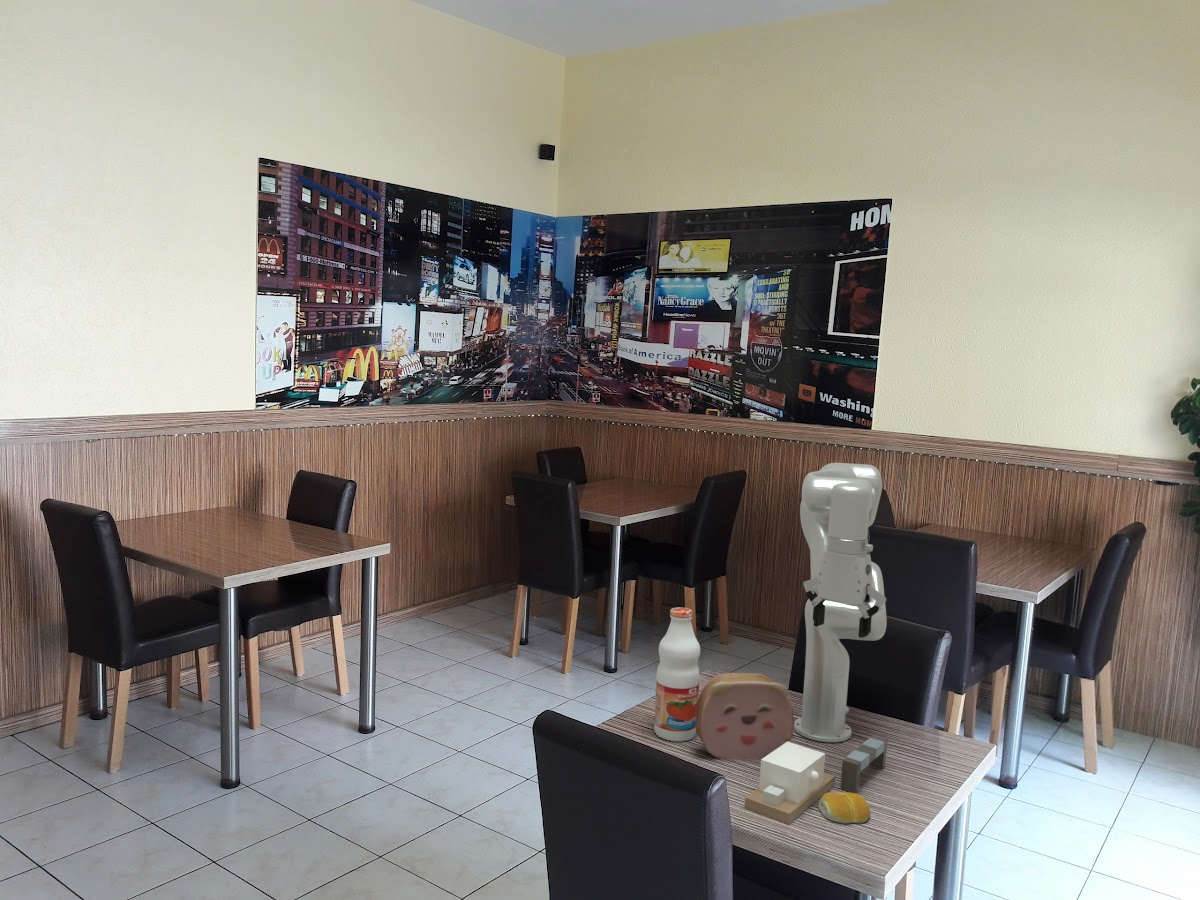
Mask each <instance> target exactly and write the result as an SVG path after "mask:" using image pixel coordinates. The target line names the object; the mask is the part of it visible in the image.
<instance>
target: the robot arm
mask: <svg viewBox="0 0 1200 900" xmlns="http://www.w3.org/2000/svg"><path fill="white" fill-rule="evenodd" d="M882 491H883V479H882V474H881V472H880V470H879V469H878V468H877V467H876V466H874V465H872V464H866V463H863V464H861V463H847V462H832V463H828V464H825V465H823V466H822V467H821V468H819V470H817V471H811V472H809V473H807V474H806V475H805V477H804V480H803V483H802V486H801V501H800V506H799V517H800V524H801V528H802V532H803V535H804V538H805V540H806V542H807V545H808V548H809V552H810V554H809V557H810V579H808V580H805V581H803V582H802V583H803V584H802V585H803V587H804V590H805V592H806V593H805V594H806V597H807V598H808V599H807V600H806V603H805V607H804V620H805V621H804V622H805V631H806V632H805V633H806V634H805V635H806V642H805V643H806V646H805V666H804V679H803V680H804V681H803V691H802V692H803V693H802V709H801V717H799V718H797V719H795V720H794V723H793V730H794V731H795V732H796V733H797V734H798V735H801V736H802V737H804V738H806V739H810V740H812V741H815V742H822V743H823V742H824V743H841V742H845V741H847V740H849V739H850V738H851V737H852V733H853V732H852V728H851V726H849V725H848V724H847V723H846V715H847V714H848V713H849V712H850V708H849V706H847V700H848V687H849V672H850V656H849V653H848V650H847V649H846V648H845V646H844V645H843V644H842V642H841V641H840V639H841V640H842V639H845V640H848V639H849V640H857V641H878V640H881V639H882V638H883V637H884V635H885V634H886V629H887V625H888V624H887V619H888V618H887V610H886V609H887V607H886V602H887V597H886V596H885V587H884V579H883V573H882V570H881V568H880V566H879V565H878V564H877V563H875V562H873V561H872V558H871V555H870V554H868V552H873V549H874V545H873V544H870V543H869V539H868V532H869V531H868V530H869V527H871V526H872V525H873V523H874V522H875V520H876V516H877V511H878V508H879V504H880V499H881V496H882Z"/></svg>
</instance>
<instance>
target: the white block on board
mask: <svg viewBox="0 0 1200 900" xmlns="http://www.w3.org/2000/svg"><path fill="white" fill-rule="evenodd" d="M825 762H826V753H824V752H821V751H817V750H816V749H812V748H809V747H805V746H802V745H800V744H796V743H792V742H790V741H788V742H786V743H785V744H783V745H782V746H780V747H779V748H777V749H776V750H774V751H773V752H771V753H770V754H769V755H767V756H766V757H764V758H763V759H760V767H759V768H760V771H759V784H758V785H759V786H758V788H756V789H755V790H754V791H752V792H750V793H749V794H748V795H746V797H744V798H745V799H744V809H746V810H749V811H753V812H755V813H757V814H760V815H763V816H764V817H765V816H766V817H768V818H771V819H774V820H776V821H779V822H781V823H784V824H786V825H790V824H791V823H792V822H793V821H795V820H796V819H797V818H798V817H799V816H800V815H802V814H803V813H804V812H806V811H807V810H808V809H809V808H810V807H811V806H812V805H814V804H815V803H816V802H817V801H818V800H821V797H822V796H823V795H824V794H826V793H828V792H829V791H830V790H831V789H833V787H835V784H836V783H835V780H836V776H835V775H832V774H830V773H826V772H825Z"/></svg>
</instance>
